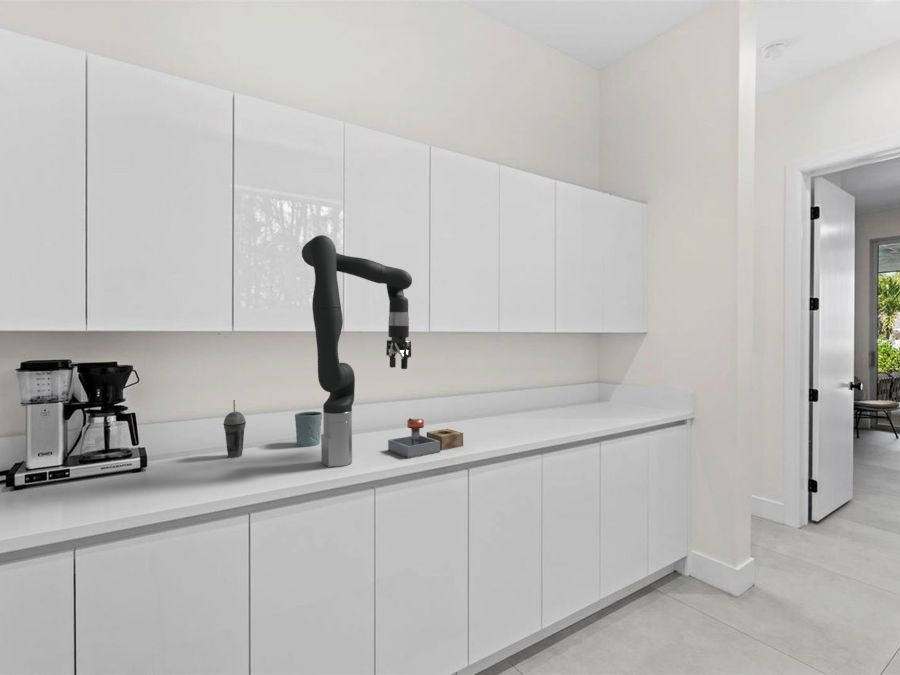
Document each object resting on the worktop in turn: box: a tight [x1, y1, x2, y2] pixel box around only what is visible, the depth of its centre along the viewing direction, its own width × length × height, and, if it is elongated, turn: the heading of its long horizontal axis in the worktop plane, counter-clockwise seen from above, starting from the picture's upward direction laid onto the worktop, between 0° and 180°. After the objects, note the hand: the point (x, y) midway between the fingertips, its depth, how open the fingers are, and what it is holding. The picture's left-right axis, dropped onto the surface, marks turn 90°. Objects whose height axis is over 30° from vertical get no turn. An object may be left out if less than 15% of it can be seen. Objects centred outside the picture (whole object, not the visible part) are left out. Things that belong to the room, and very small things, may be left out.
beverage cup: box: [222, 399, 247, 459], centre depth 165 cm, size 7×7×20 cm
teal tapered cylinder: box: [294, 411, 323, 448], centre depth 182 cm, size 10×10×12 cm
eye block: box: [426, 428, 464, 451], centre depth 178 cm, size 10×10×5 cm
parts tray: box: [387, 434, 441, 459], centre depth 170 cm, size 14×14×4 cm
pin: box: [406, 417, 425, 446], centre depth 171 cm, size 6×6×11 cm
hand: (398, 368), depth 174 cm, fingers open, 8 cm apart
